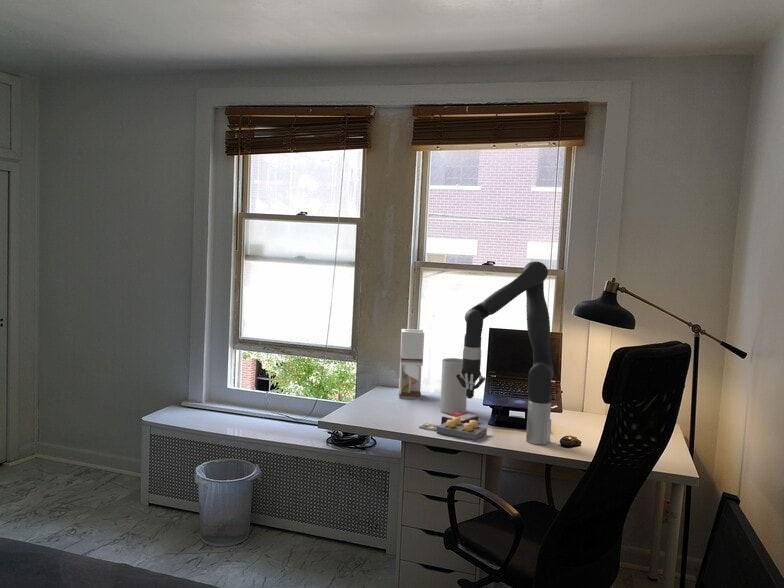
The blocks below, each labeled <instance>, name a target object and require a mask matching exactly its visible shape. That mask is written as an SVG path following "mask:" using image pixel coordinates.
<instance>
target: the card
mask: <svg viewBox="0 0 784 588" xmlns="http://www.w3.org/2000/svg"><path fill="white" fill-rule="evenodd" d="M437 426H439V425H438V424H433V423H427V422H425V423H424V424H422V425H419V426H418V429H421V430H428V431H432V432H437Z"/></svg>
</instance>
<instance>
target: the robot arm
mask: <svg viewBox="0 0 784 588" xmlns="http://www.w3.org/2000/svg"><path fill="white" fill-rule="evenodd" d="M548 274H549V273H548V266H546V264H544V263H543V262H541V261H531V262H528V263H527V264H526V265H525V266H524V267H523V270H522V272H521V274H519V276H516V278H514V280H512V281H511V282H509V283H507V284H506V285H504V286H502V287H501V288H499V289H498V290H496V291H495V292H493V293H492V294H490V295H489V296H487V298H485V299H484V300H483V301H481V302H480V303H477V304H476V305H474V306H472V307H471V308H470V309H468V310H467V311H466V312H465V314H464V320H465V322H466V323H465V334H464V343H463V350H462V359H463V364H462V371H461V373H460V374H458V375H456V377H457V379H458V380H459V382H460V383H461V385H462V387H465V388H466V396H467V399H473V398H474V397H475V395H474V394H475V390H476V389H479V388H480V386H481V385H482V384H483V383H484V382H486V377H484V376H483V375H482V372H481V364H482V363H481V361H482V348H481V347H482V333H483V329H484V328H483V327H484V320H485V319H487V318H488V317H489V316H492V315H494V314H496V313H497V312H498V311H500V310H501V309H503V308H504V307H505V306H507V305H508V304H509V303H510V302H512V301H513V300H514V299H516V298H517V297H518V296H520V295H521V294H522V293H524V292H525V295H526V329H527V335H528V338H529V342H530V345H531V348H532V360H533V361H532V367H530V369H529V371H528V377H527V378H528V381H527V396H528V401H527V417H526V420H527V421H526V435H525V437H526V438H525V441H526V442H528V443H529V444H532V445H533V444H534V445H543V446H546V445H548V444H550V443H551V433H552V419H551V411H552V410H551V409H552V393H551V392H552V391H551V387H552V380H553V378H554V376H555V371H554V365H553V360H552V353H551V323H550V322H551V321H550V314H549V309H548V305H547V301H546V298H545V290H544V289H545V288H544V282H545V281H546V279H547V277H548ZM463 377H464V379H465V380H464V379H463ZM477 380H478V381H477ZM476 382H477V383H476Z"/></svg>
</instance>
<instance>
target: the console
mask: <svg viewBox="0 0 784 588" xmlns="http://www.w3.org/2000/svg"><path fill="white" fill-rule="evenodd" d="M436 434H438V435H443V436H448V437H453V438H456V439H457V438H458V439H462V440H466V441H471V442H477V441H479V440H480V439H482V438H484V437H485V436H487V434H488V427H485V426H480V425H478V429H472V432H466V431H464V423H461V424H460V426H456V425H455V428H454V429H450V428H447V422H445V423H443V424H441V423H440V424H439V425H438V426H437V431H436Z"/></svg>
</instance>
